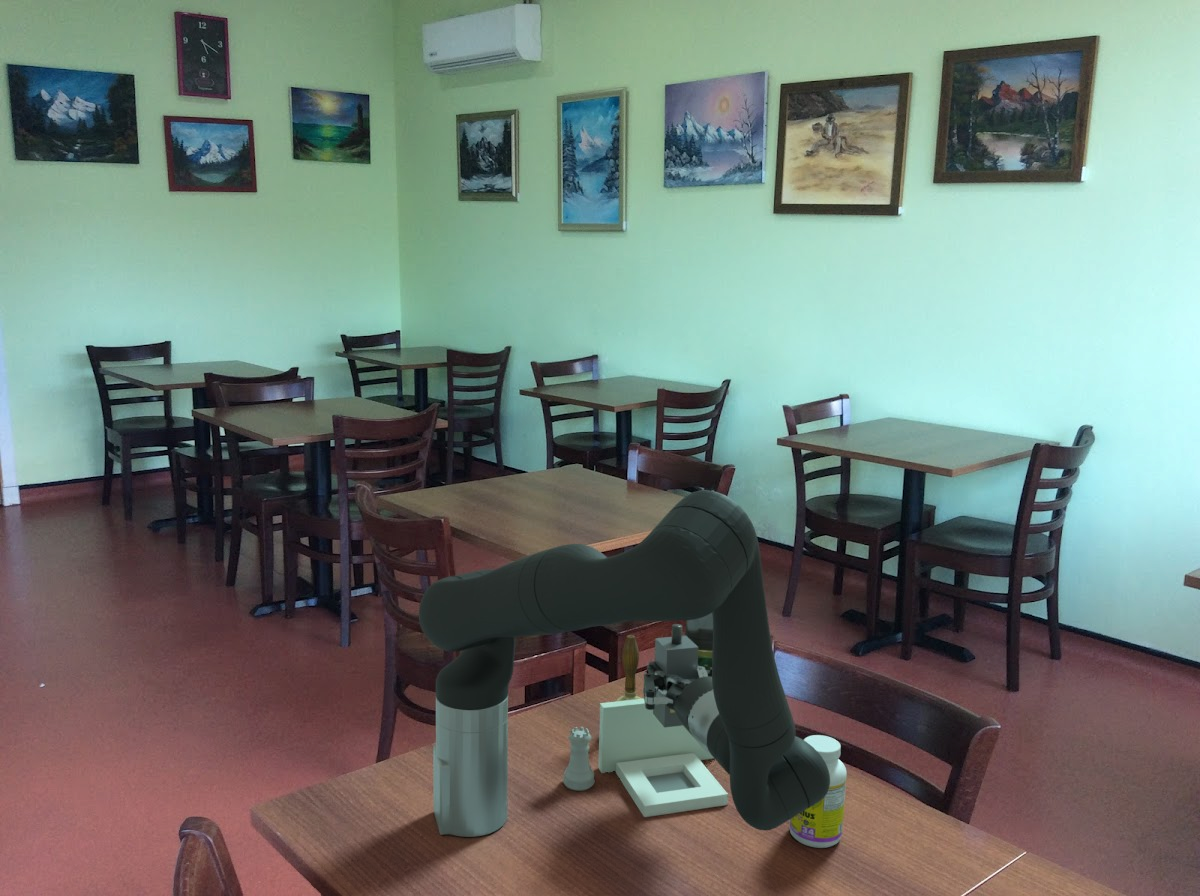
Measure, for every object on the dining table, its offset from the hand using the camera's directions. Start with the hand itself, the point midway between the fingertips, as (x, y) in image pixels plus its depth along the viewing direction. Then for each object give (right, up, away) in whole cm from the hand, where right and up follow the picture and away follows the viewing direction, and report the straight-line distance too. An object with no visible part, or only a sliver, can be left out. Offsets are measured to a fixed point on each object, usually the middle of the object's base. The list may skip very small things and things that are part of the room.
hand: (668, 666), depth 138 cm
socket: (+1, -17, +2) cm, 17 cm away
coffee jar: (+7, -14, +19) cm, 25 cm away
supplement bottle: (+18, -20, -10) cm, 29 cm away
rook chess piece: (-13, -17, +1) cm, 21 cm away
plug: (+1, -7, -1) cm, 7 cm away
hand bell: (-5, -14, +17) cm, 23 cm away
